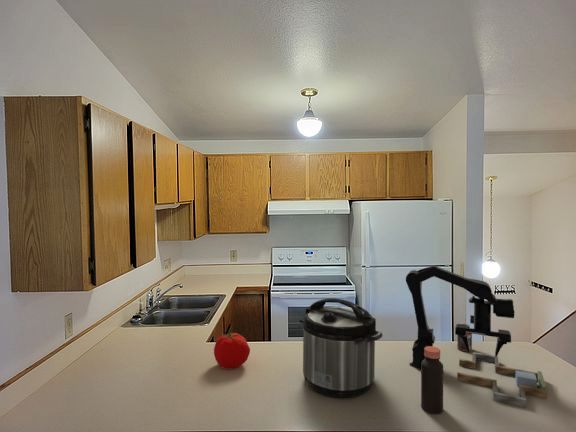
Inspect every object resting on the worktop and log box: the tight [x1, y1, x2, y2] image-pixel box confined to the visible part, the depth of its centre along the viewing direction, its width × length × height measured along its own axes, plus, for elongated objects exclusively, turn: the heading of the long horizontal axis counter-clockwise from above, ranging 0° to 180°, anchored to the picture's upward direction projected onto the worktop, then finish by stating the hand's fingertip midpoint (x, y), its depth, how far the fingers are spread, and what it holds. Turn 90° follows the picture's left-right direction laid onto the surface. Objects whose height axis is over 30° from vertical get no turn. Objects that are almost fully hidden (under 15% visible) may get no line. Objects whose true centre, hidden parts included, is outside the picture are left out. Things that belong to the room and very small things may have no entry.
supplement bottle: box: [456, 323, 473, 352], centre depth 163 cm, size 6×6×11 cm
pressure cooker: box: [299, 297, 383, 398], centre depth 136 cm, size 30×28×32 cm
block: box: [514, 371, 538, 388], centre depth 131 cm, size 6×5×4 cm
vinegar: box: [420, 345, 444, 415], centre depth 117 cm, size 7×7×20 cm
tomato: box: [213, 332, 251, 370], centre depth 150 cm, size 16×14×14 cm
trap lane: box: [456, 351, 548, 409], centre depth 135 cm, size 28×34×4 cm
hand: (482, 354), depth 138 cm, fingers open, 9 cm apart
